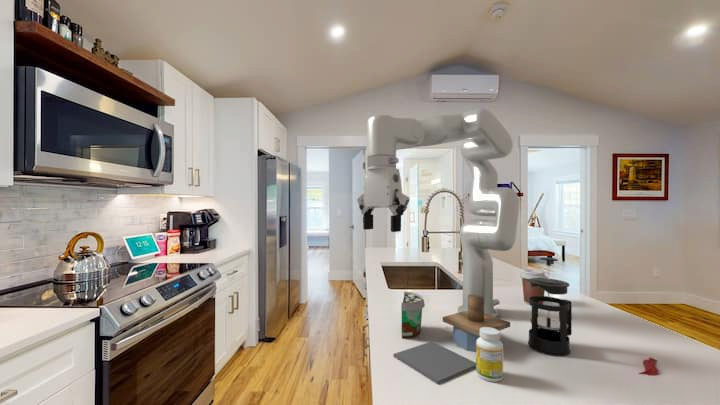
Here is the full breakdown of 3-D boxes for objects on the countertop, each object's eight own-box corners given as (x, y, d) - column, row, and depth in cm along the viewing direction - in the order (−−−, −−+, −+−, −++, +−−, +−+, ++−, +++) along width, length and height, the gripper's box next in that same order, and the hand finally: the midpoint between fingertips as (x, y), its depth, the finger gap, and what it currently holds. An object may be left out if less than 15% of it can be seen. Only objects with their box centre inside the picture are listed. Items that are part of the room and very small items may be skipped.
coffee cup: (553, 307, 113) (553, 273, 113) (527, 307, 113) (527, 273, 114) (539, 299, 122) (539, 268, 123) (515, 299, 123) (515, 268, 123)
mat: (431, 343, 83) (431, 341, 83) (478, 366, 71) (478, 363, 71) (393, 356, 75) (393, 353, 75) (437, 384, 64) (437, 381, 64)
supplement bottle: (498, 385, 63) (498, 337, 64) (472, 376, 67) (472, 330, 67) (506, 374, 68) (506, 329, 68) (481, 366, 71) (481, 323, 71)
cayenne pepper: (648, 380, 67) (648, 371, 67) (623, 370, 71) (623, 361, 71) (677, 369, 71) (677, 360, 71) (652, 359, 76) (652, 351, 76)
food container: (424, 342, 83) (424, 304, 83) (401, 340, 84) (401, 303, 85) (424, 325, 95) (424, 292, 95) (404, 323, 97) (404, 291, 97)
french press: (546, 358, 75) (546, 261, 75) (517, 342, 84) (517, 255, 84) (585, 353, 78) (585, 260, 78) (553, 337, 87) (553, 254, 87)
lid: (471, 313, 92) (471, 288, 92) (510, 326, 82) (510, 298, 82) (442, 321, 85) (442, 294, 85) (481, 337, 75) (481, 306, 75)
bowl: (471, 331, 91) (471, 314, 91) (507, 345, 82) (507, 326, 82) (445, 340, 85) (445, 321, 85) (480, 356, 76) (480, 335, 76)
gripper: (417, 162, 78) (417, 231, 78) (368, 168, 91) (368, 227, 90) (398, 159, 73) (397, 233, 73) (348, 166, 85) (348, 229, 85)
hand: (381, 230), depth 82 cm, fingers open, 9 cm apart
